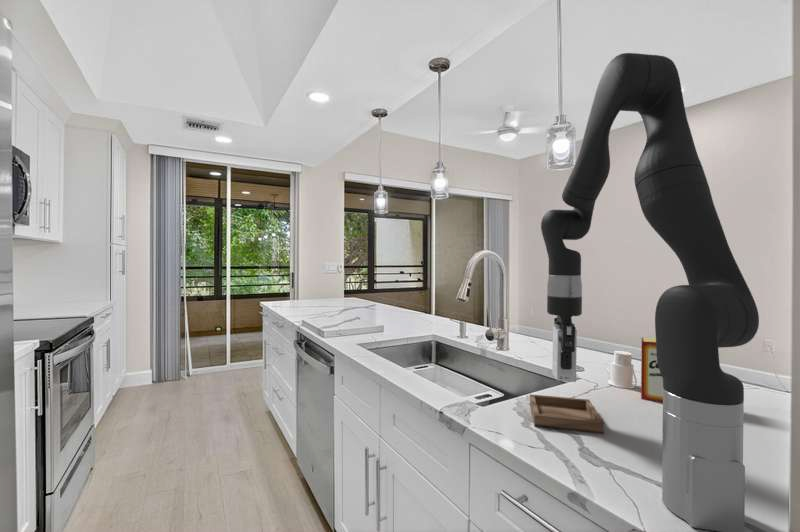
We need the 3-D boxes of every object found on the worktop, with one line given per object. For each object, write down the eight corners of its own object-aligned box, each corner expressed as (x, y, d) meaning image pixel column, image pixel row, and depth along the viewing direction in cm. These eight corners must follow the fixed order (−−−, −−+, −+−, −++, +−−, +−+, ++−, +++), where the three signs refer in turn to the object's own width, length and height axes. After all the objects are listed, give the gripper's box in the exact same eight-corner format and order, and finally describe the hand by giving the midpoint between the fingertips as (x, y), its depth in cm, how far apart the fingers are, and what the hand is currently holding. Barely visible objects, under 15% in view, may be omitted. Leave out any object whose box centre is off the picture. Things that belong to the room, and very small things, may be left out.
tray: (603, 434, 80) (604, 422, 80) (534, 426, 84) (534, 415, 84) (588, 409, 94) (589, 399, 93) (529, 403, 97) (529, 394, 97)
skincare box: (576, 382, 85) (577, 330, 85) (556, 381, 86) (557, 329, 86) (570, 374, 91) (570, 325, 91) (551, 373, 92) (552, 325, 92)
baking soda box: (682, 398, 102) (682, 339, 102) (685, 406, 96) (685, 344, 96) (641, 392, 107) (641, 336, 107) (641, 398, 101) (641, 339, 101)
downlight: (601, 383, 114) (603, 351, 114) (612, 379, 118) (614, 348, 118) (630, 391, 108) (632, 357, 107) (640, 387, 112) (642, 354, 112)
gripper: (588, 297, 80) (587, 375, 81) (575, 292, 94) (575, 359, 94) (551, 296, 82) (550, 372, 83) (543, 291, 96) (543, 356, 96)
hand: (563, 365), depth 88 cm, fingers closed on skincare box, 6 cm apart
